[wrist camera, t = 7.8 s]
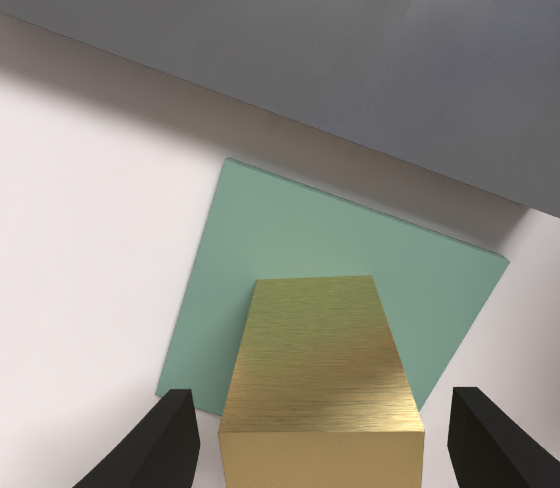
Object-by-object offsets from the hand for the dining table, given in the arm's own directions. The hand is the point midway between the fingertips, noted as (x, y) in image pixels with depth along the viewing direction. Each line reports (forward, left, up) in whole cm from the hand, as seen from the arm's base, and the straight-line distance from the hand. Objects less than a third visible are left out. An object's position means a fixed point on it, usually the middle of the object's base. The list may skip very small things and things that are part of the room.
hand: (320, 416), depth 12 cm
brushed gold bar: (0, 0, -4) cm, 4 cm away
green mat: (0, 0, -5) cm, 5 cm away
